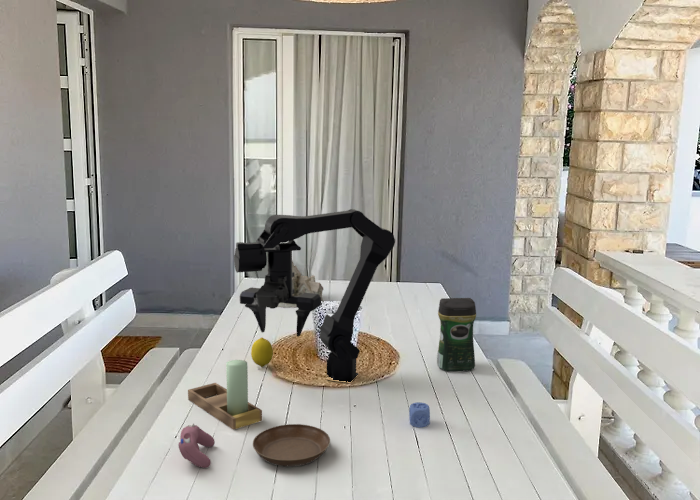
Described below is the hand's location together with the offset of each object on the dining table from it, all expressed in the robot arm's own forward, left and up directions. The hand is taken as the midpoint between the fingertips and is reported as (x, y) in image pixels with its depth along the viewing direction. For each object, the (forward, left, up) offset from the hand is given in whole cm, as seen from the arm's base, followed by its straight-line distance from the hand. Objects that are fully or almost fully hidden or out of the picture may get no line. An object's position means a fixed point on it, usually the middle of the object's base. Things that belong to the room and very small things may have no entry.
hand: (280, 334), depth 162 cm
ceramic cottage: (+27, -72, -13) cm, 78 cm away
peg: (+1, +20, -13) cm, 24 cm away
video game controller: (0, +38, -13) cm, 40 cm away
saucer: (-16, +30, -14) cm, 37 cm away
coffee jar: (-37, -27, -13) cm, 48 cm away
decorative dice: (-36, +9, -13) cm, 39 cm away
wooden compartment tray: (+6, +17, -13) cm, 22 cm away
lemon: (+10, -10, -13) cm, 19 cm away
